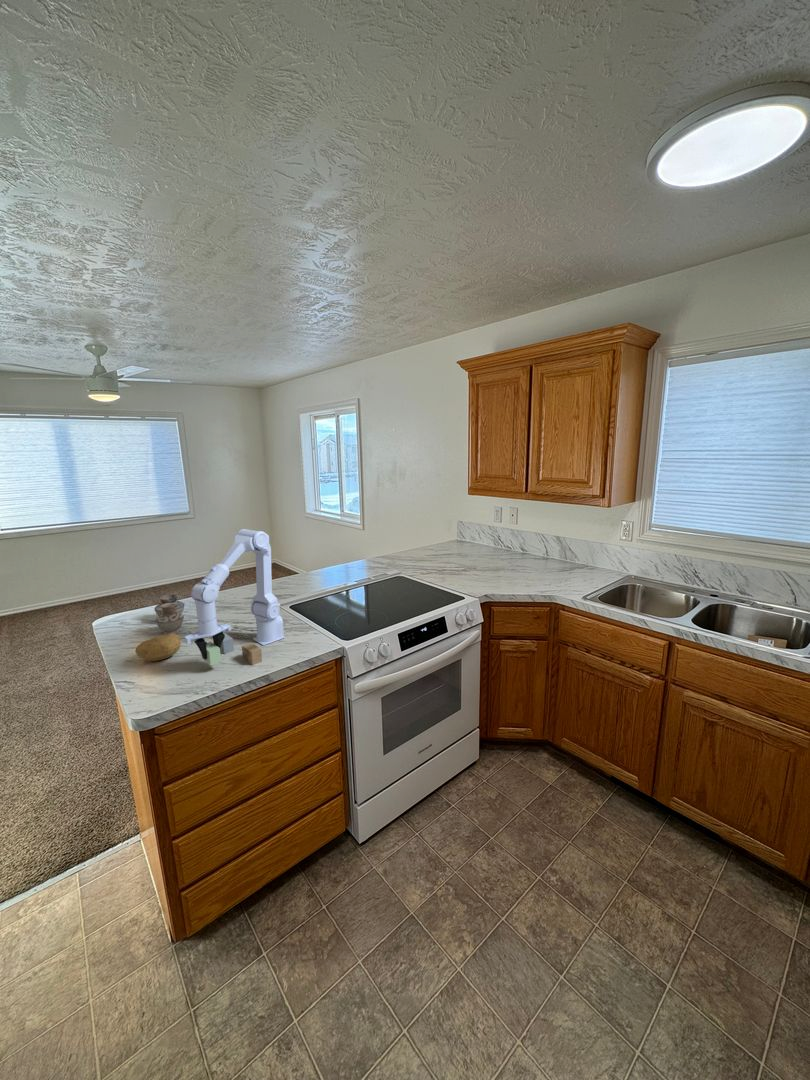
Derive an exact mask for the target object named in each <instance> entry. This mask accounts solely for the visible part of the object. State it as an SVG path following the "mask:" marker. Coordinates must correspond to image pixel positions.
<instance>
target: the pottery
mask: <svg viewBox="0 0 810 1080" xmlns="http://www.w3.org/2000/svg"><path fill="white" fill-rule="evenodd" d="M159 599H160V600H159V601H160V603H158V604H157V605H156V606H155V607H154V608H153V609H154V611H155V613H156V615H157V618H155V623H156V626H157V627H158V628H159V630H161V631H163V635H166V634H172V633H174V634H177V635H178V634H179V633H180V631H181V630H180V628H181V627H182V625H183V623H184V618H185V617H184V614H183V612H184V609H185V602H182V601H179V600H178V598H177V594H175V593H169V594H168V593H167V594H164V595H162V596H160V597H159Z"/></svg>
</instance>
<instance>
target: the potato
mask: <svg viewBox="0 0 810 1080" xmlns="http://www.w3.org/2000/svg"><path fill="white" fill-rule="evenodd" d="M180 648H181V637H180V636H179V635H178V634H174V633H172V634H166V635H164V634H163V635H156V636H154V637H151V638H150V639H146V640H144V641H141V642H140V643H139V644H138V645H137V646H136V647H135V654H136V655H137V656H138V658H140V659H142V660H144V661H146V662H155V661H161V660H164V659H167V658H169V657H172V656H173V655H175V654H177V652H178V651H179V650H180Z"/></svg>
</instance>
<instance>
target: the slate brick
mask: <svg viewBox="0 0 810 1080" xmlns="http://www.w3.org/2000/svg"><path fill="white" fill-rule="evenodd" d="M223 634H224V635H225V638H224V640H223V642H222V644H221V648H220V653H222V654H228V653H231V652H234V651H235V649H234V648H235V647H234V638H233V637H231V636H230V635H229V634H227V633H226V632H223Z"/></svg>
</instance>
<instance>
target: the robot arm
mask: <svg viewBox="0 0 810 1080" xmlns="http://www.w3.org/2000/svg"><path fill="white" fill-rule="evenodd" d="M233 541H234V542H233V543H232V545H231V546H230V548H229V549H228V551H227V553H226V554H225V555H224V557H223V558H222V560H221V561H220V563H218V564H217V563H216V564H214V565H213V566H212V565H211V566H210V568H209V570H208V572H207V574H206V575H205V576H204V578H202V579H201V581H200V582H198V583H196V584H195V585H194V586H193V587H192V589H191V592H190V597H191V598H192V599H193V600H194V604H195V607H196V618H197V625H198V626H197V627H198V631H197V630H196V631H195V632H194V633H191V634H188V635H187V636H184V643H186V645H190V644H191V643H193V642H194V643H195V645H196V646H197V648H198V650H199V651H200V654H201V658H202V657H203V658H204V659H205V660H206V659H207V651H206V645H207V643H208V642H207V641H205V639H206V638H208V637H209V638H210V637H212V641H213V642H212V643H213V644H215V645H216V646H218V647H219V648H221V644H222V642H223V640H224V638H225V635H224V634H223V633H226V632H230V631H232V625H231V624H229V623H226V624H225V623H224V624H221V625H218V619H217V609H216V599H217V598H218V596H219V591H220V588H221V586H222V585H223V583H224V582H225V581H226V579H227V578H228V577H229V575H230V570H229V569H231V567H232V566H233V565H234V564H235V563H236V561H238V560H239V558H241V556H242V554H243V553H248V552H252V553H254V554H255V568H256V569H255V573H256V574H255V575H256V576H255V577H256V578H255V579H256V580H255V581H256V594H255V595H254V596H253V597H252V602H251V606H250V612H251V614H252V615H254V619H255V623H256V625H255V626H256V636H255V637H253V638H252V639H253V640H254V641H255V642H257V643H258V644H260V645H262V646H265V645H269V644H271V643H274V642H277V641H281V640H282V639H285V638H286V636H285V635H284V633H285V632H284V620H283V617H282V615H280V611H281V609H280V604H279V602H278V600H279V599H278V598H277V597H276V596H275V595H274V594H273V585H272V583H273V580H272V578H273V577H272V576H273V575H272V547H271V544H270V536H269V534H267V533H266V532H265V531H262V530H252V529H247V528H242V529H240V530H239V531H238V532H237V534H236V535H235V536H234V538H233Z"/></svg>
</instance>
